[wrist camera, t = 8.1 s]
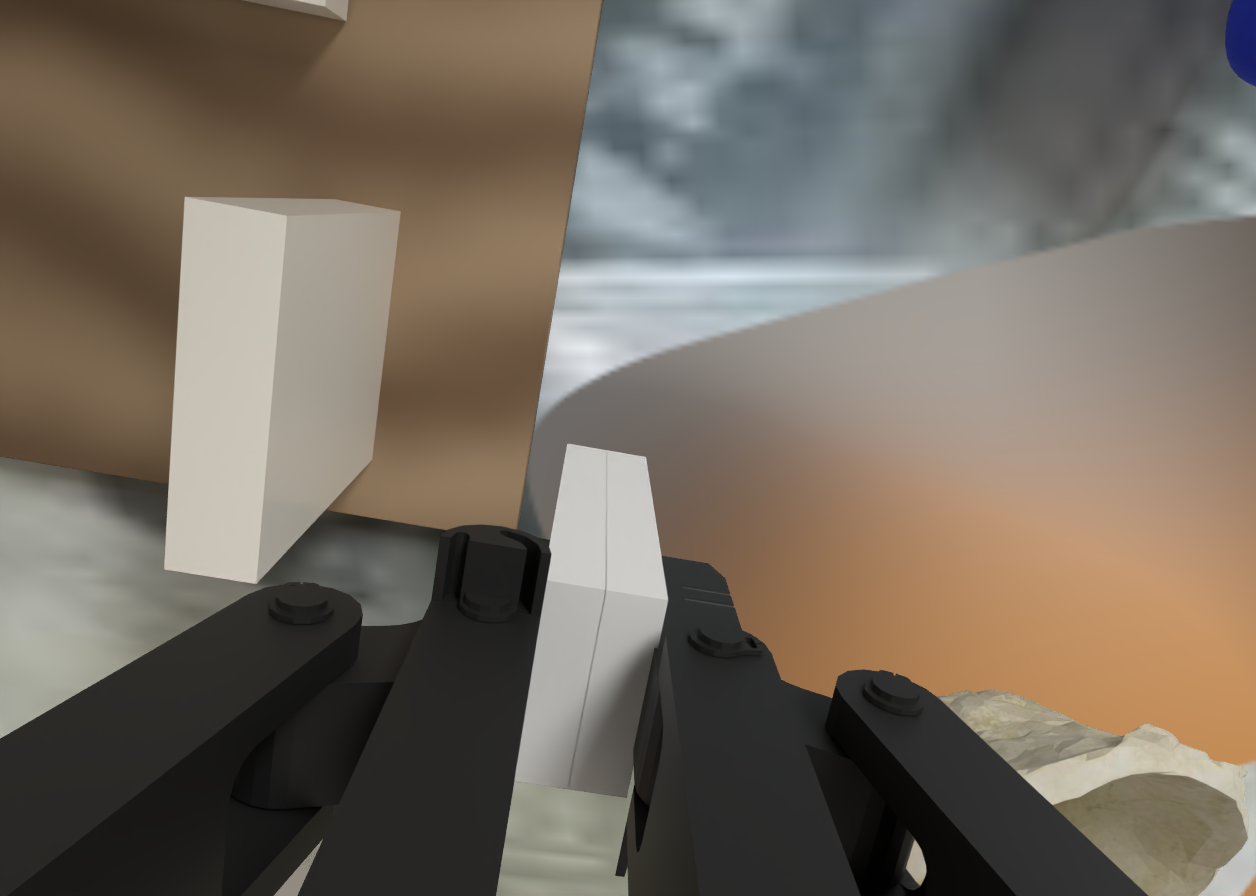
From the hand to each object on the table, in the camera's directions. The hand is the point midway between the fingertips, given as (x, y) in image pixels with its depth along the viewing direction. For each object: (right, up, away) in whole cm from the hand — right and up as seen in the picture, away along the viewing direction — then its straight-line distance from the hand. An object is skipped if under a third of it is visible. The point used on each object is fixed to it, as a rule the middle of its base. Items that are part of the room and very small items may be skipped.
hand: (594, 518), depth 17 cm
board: (-10, +12, +10) cm, 19 cm away
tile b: (-8, +5, +11) cm, 15 cm away
